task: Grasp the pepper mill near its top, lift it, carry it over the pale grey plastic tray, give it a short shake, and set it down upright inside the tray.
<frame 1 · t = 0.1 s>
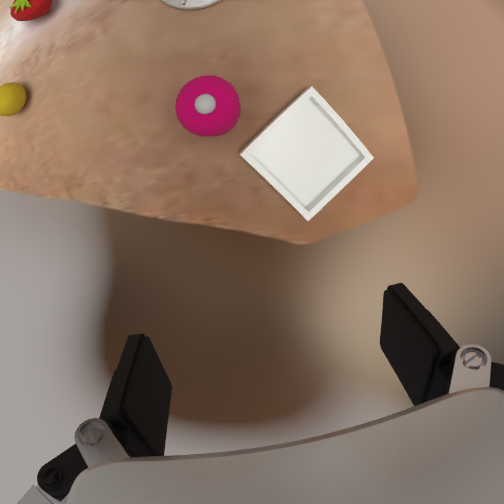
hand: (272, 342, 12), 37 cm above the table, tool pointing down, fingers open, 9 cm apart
strawberry: (46, 11, 30), on the table
lemon: (23, 99, 36), on the table
tray: (305, 152, 45), on the table
pepper mill: (213, 110, 41), on the table
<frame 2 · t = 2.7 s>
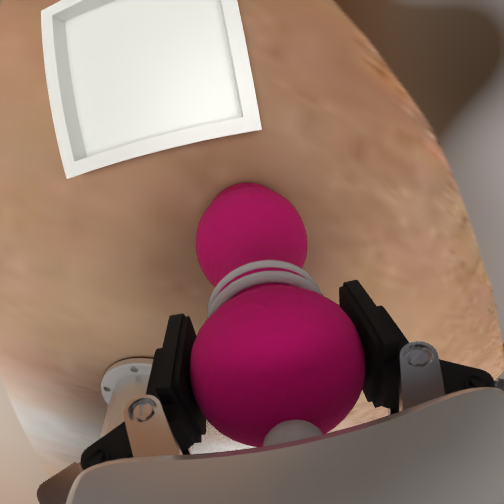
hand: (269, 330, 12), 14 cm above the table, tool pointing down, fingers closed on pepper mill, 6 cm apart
tray: (147, 61, 19), on the table
pepper mill: (246, 220, 25), on the table, touching gripper
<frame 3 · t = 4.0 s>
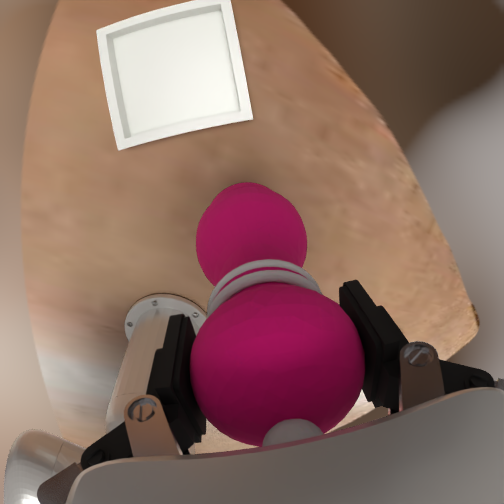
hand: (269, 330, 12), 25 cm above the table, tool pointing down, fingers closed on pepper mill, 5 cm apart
tray: (174, 71, 29), on the table
pepper mill: (246, 220, 25), point 11 cm above the table, touching gripper
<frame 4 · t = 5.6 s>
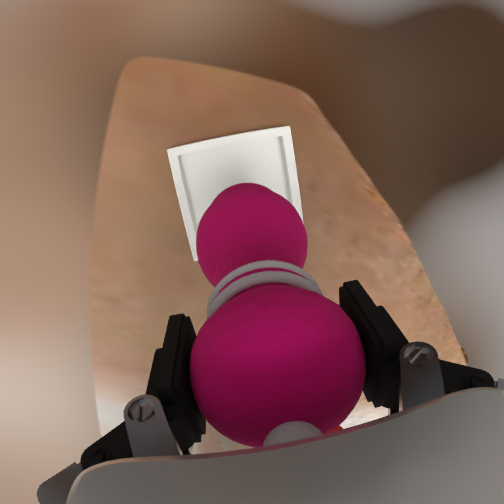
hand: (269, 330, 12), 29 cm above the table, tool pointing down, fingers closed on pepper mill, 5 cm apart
tray: (238, 190, 39), on the table
pepper mill: (246, 220, 25), point 15 cm above the table, touching gripper
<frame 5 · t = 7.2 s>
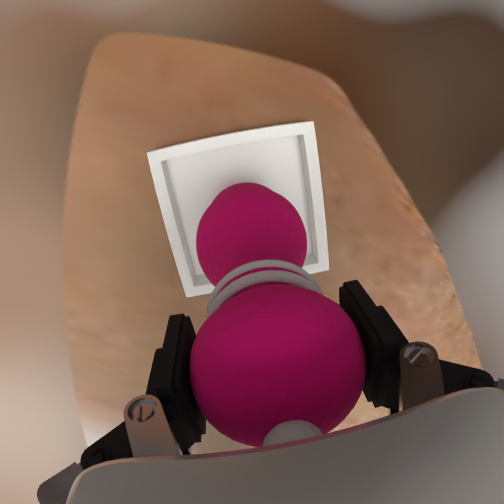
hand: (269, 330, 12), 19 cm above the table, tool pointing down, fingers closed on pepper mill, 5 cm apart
tray: (242, 205, 30), on the table
pepper mill: (246, 220, 25), point 5 cm above the table, touching gripper
when the fingers open (15 cm above the table, at t = 8.4 s): pepper mill stays where it is, resting on tray.
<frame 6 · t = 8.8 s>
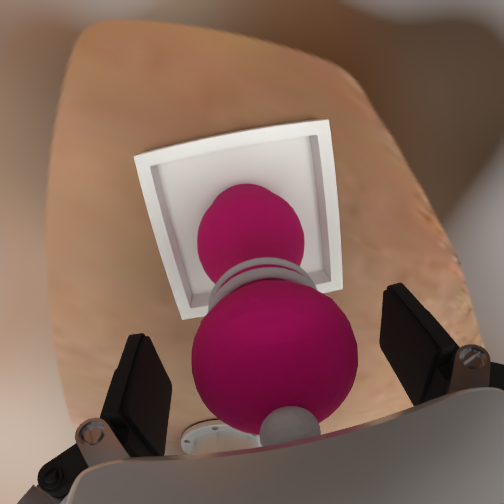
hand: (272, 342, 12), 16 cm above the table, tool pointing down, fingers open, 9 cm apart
tray: (245, 215, 26), on the table
pepper mill: (246, 220, 26), point 1 cm above the table, touching tray
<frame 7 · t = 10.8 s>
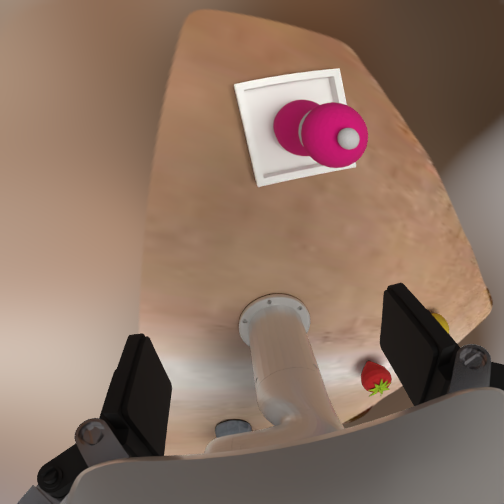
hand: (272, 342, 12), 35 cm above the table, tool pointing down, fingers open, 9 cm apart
strawberry: (367, 361, 62), on the table
moka pot: (231, 427, 69), on the table
lemon: (425, 316, 59), on the table
tray: (294, 124, 41), on the table
pepper mill: (295, 126, 40), point 1 cm above the table, touching tray
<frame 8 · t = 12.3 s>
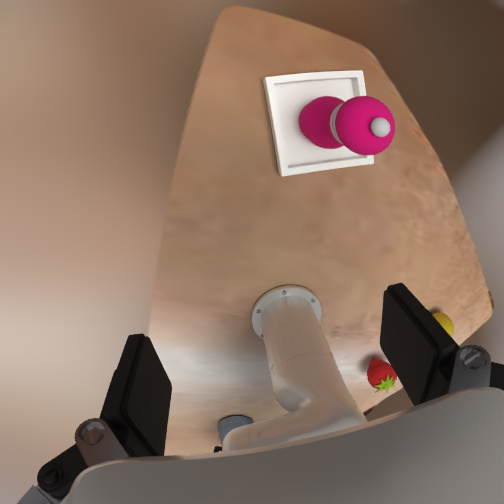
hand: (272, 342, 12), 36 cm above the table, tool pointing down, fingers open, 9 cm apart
strawberry: (373, 359, 63), on the table
moka pot: (234, 423, 68), on the table
lemon: (430, 315, 60), on the table
tray: (317, 120, 42), on the table
pepper mill: (319, 121, 42), point 1 cm above the table, touching tray
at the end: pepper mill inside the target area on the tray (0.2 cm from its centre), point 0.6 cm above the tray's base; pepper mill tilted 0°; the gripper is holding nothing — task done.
